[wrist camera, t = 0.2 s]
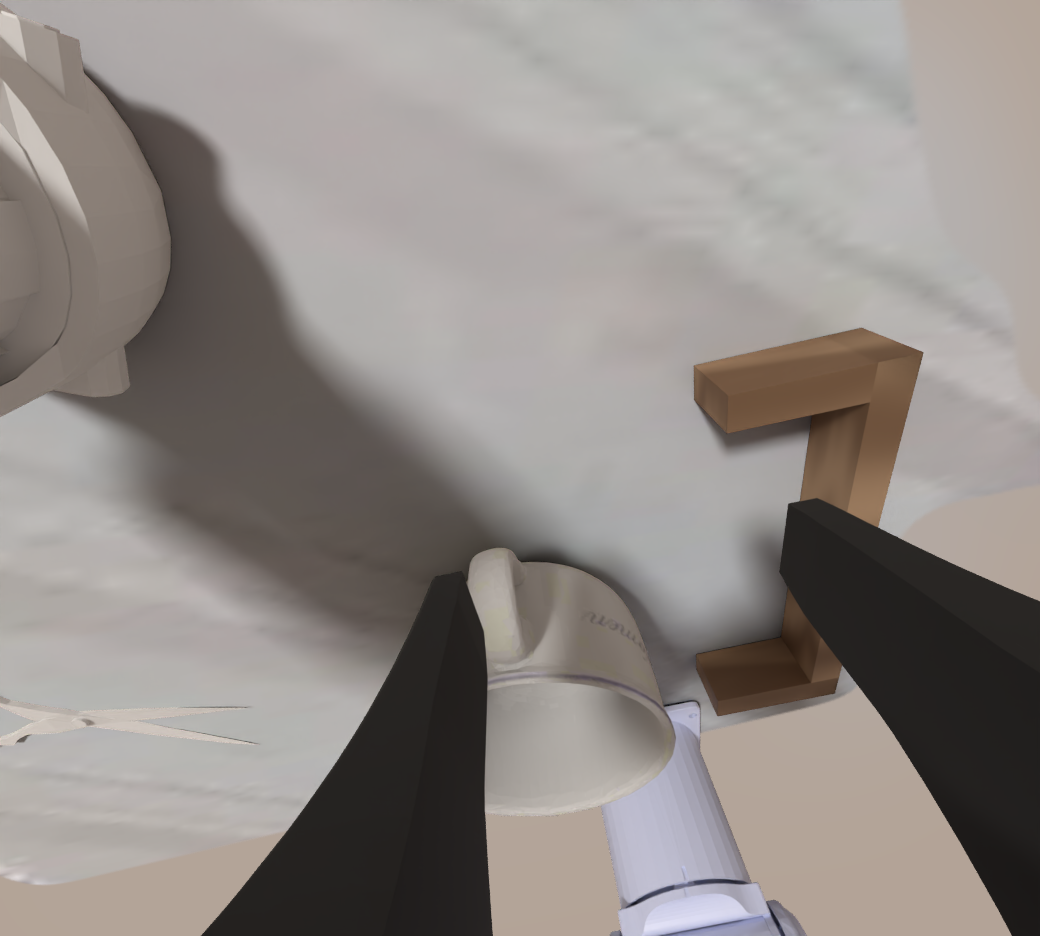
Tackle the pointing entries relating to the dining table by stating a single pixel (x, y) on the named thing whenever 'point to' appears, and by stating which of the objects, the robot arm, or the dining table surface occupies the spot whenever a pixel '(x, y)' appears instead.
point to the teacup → (563, 690)
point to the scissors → (102, 721)
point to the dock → (809, 479)
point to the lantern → (70, 224)
